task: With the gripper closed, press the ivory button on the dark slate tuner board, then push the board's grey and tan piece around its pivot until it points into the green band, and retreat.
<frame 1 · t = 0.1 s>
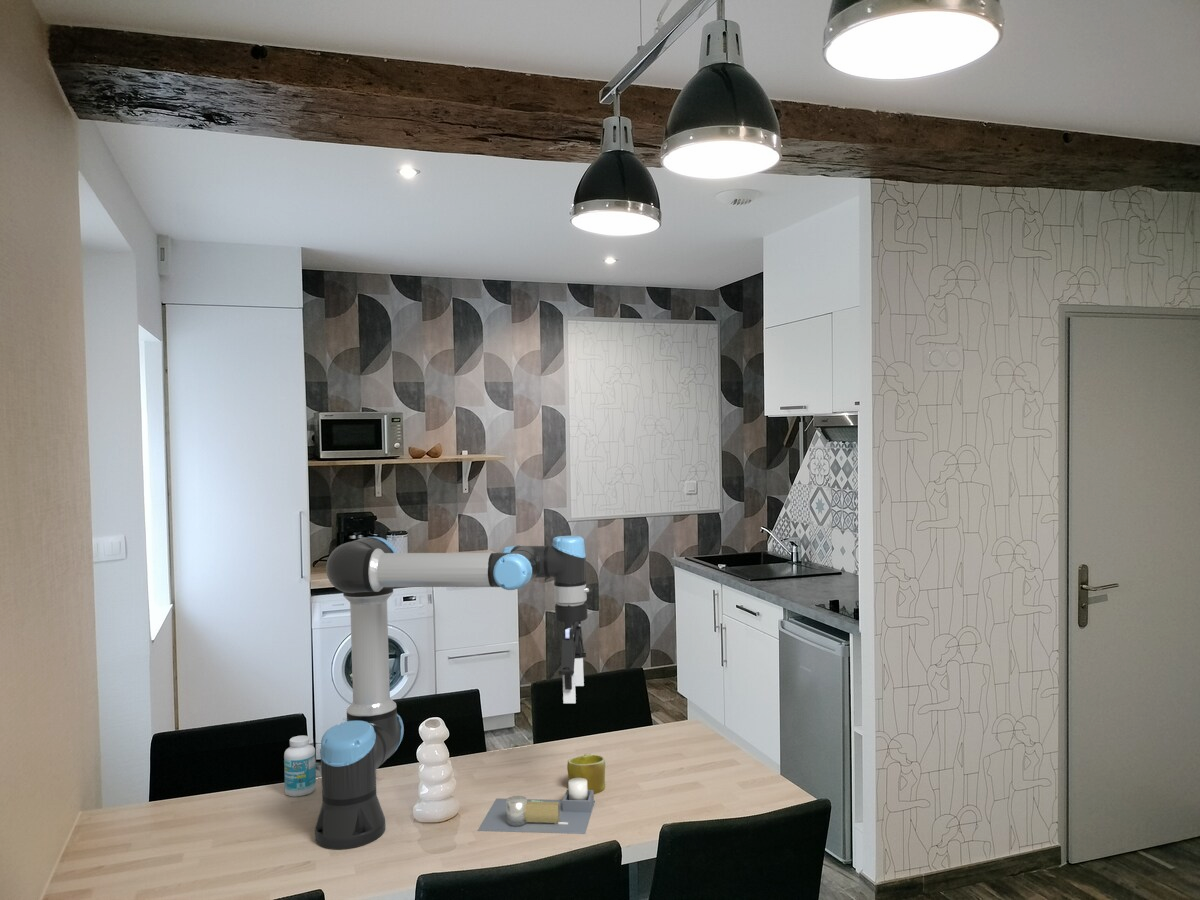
hand: (574, 694, 194), 28 cm above the table, fingers open, 13 cm apart
button: (578, 791, 195), point 5 cm above the table, slide at -0.7 cm
grey and tan piece: (532, 810, 186), point 4 cm above the table, hinge at 0.0°
pill bottle: (300, 792, 211), on the table
mug: (588, 790, 207), on the table
board: (538, 820, 190), on the table
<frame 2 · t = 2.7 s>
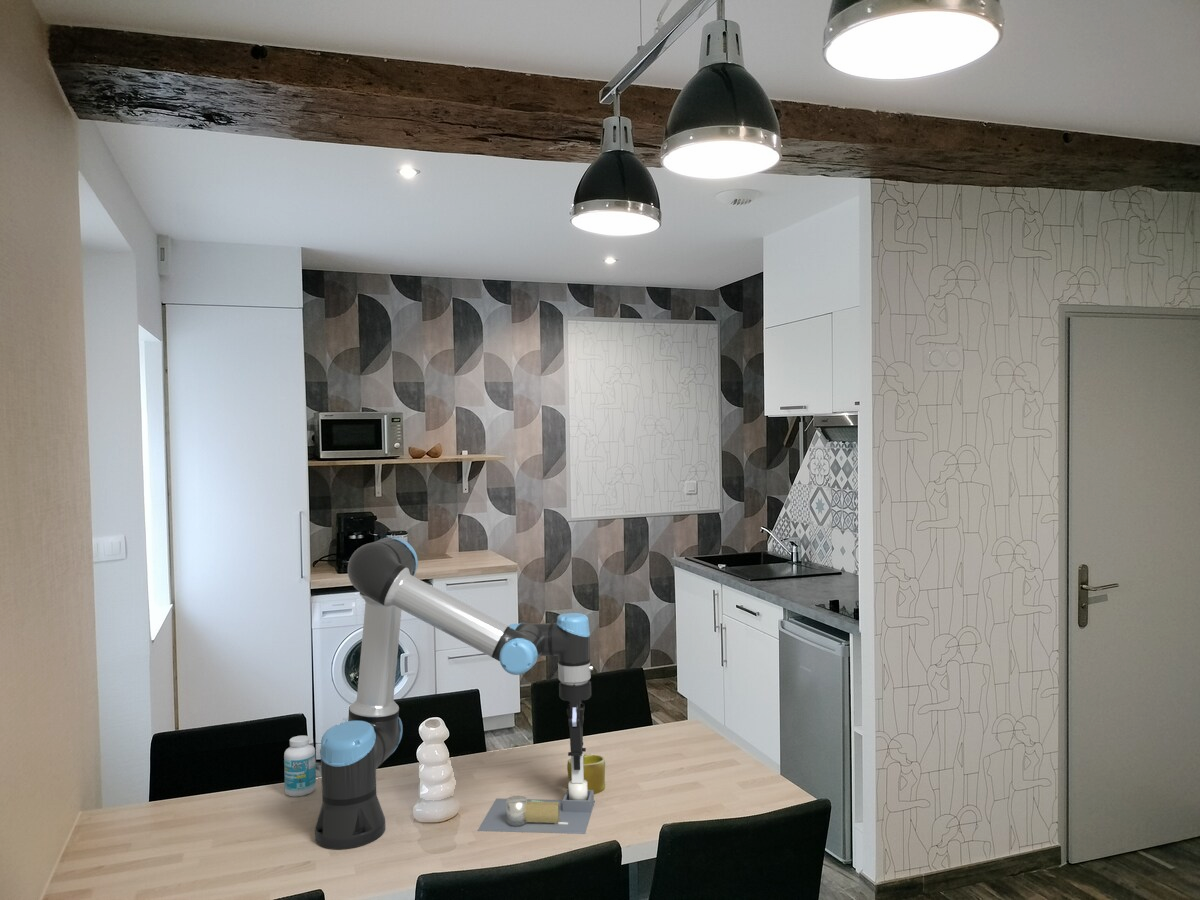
hand: (577, 781, 195), 7 cm above the table, fingers closed
button: (578, 792, 195), point 4 cm above the table, slide at -1.0 cm, touching gripper
everything else where it was.
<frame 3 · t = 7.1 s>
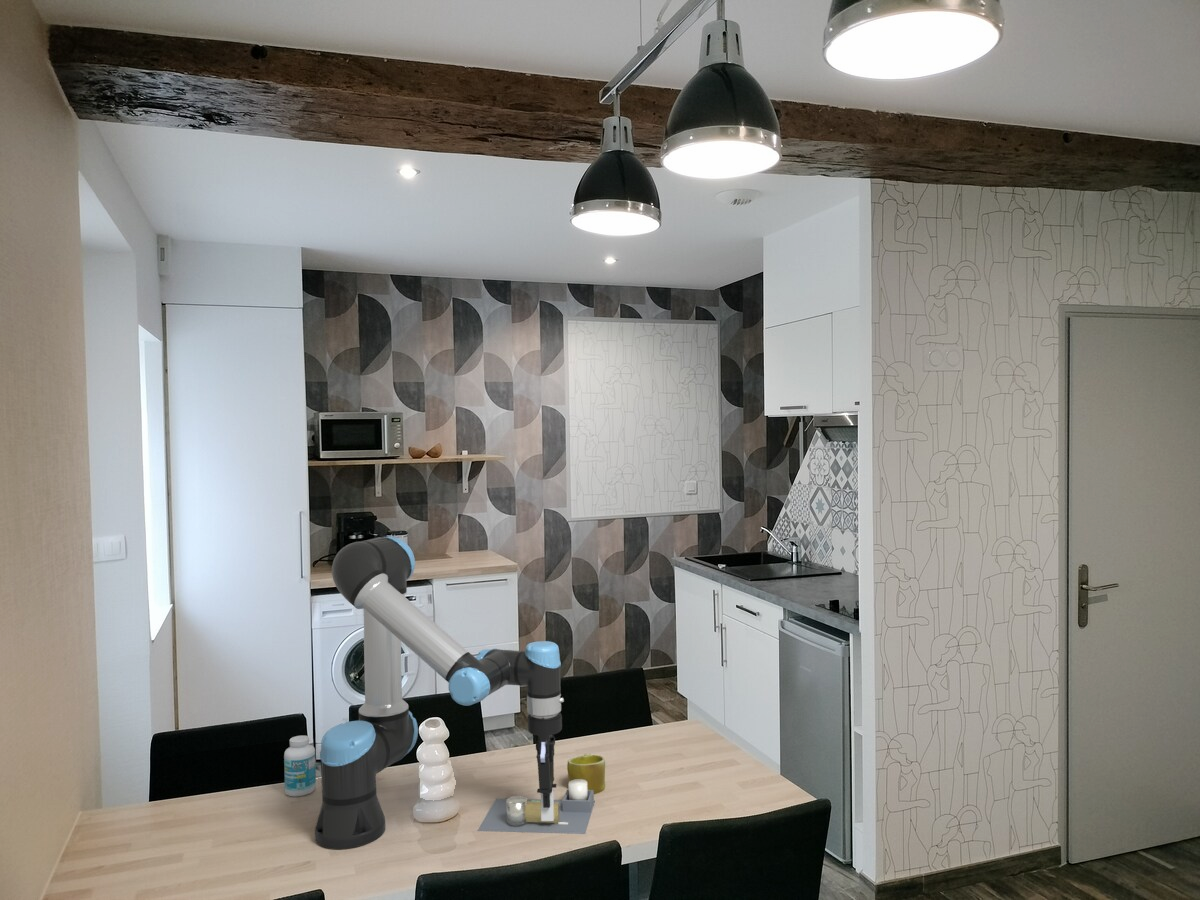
hand: (547, 819, 185), 3 cm above the table, fingers closed
button: (578, 792, 195), point 4 cm above the table, slide at -1.0 cm
grey and tan piece: (532, 810, 186), point 4 cm above the table, hinge at 0.0°, touching gripper
everything else where it was.
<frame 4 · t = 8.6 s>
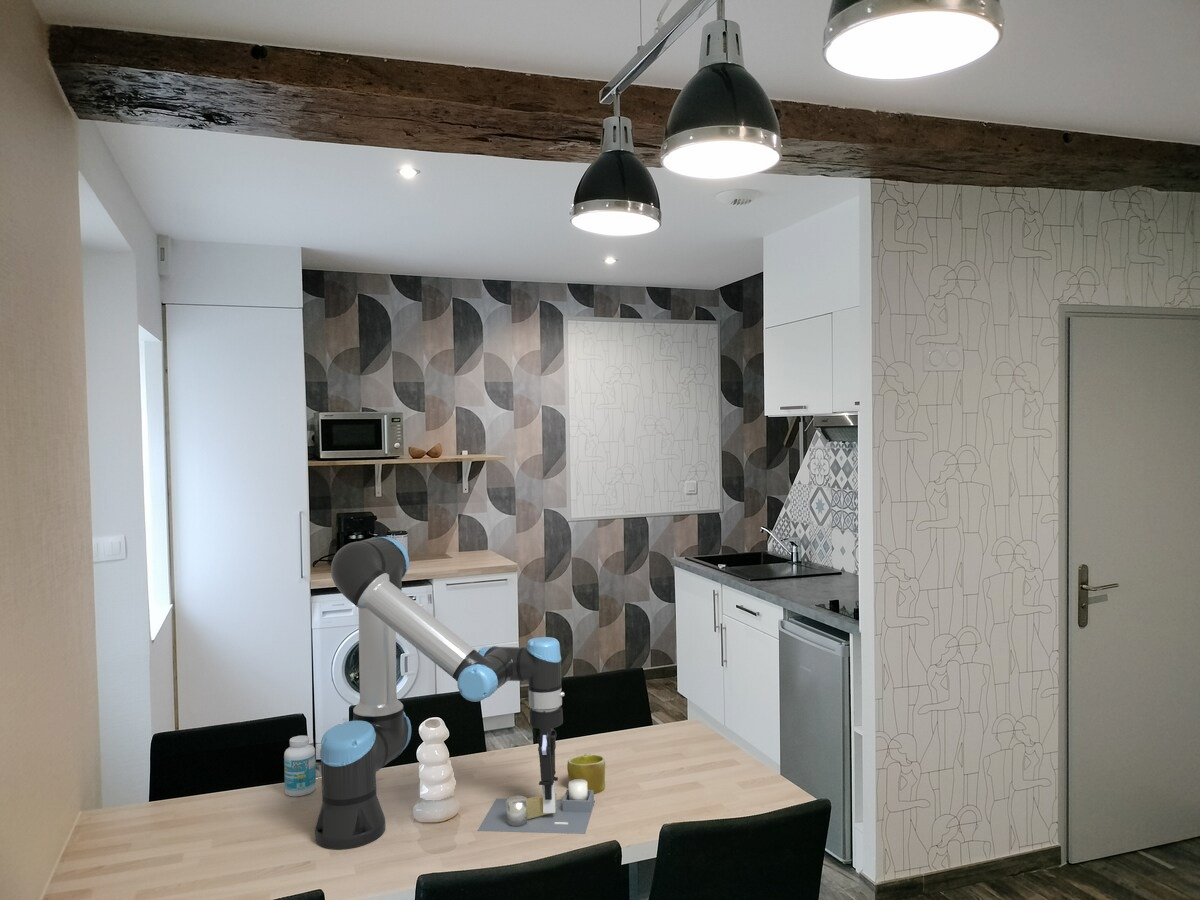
hand: (549, 811, 189), 3 cm above the table, fingers closed
grey and tan piece: (531, 806, 189), point 4 cm above the table, hinge at 35.8°, touching gripper
everything else where it was.
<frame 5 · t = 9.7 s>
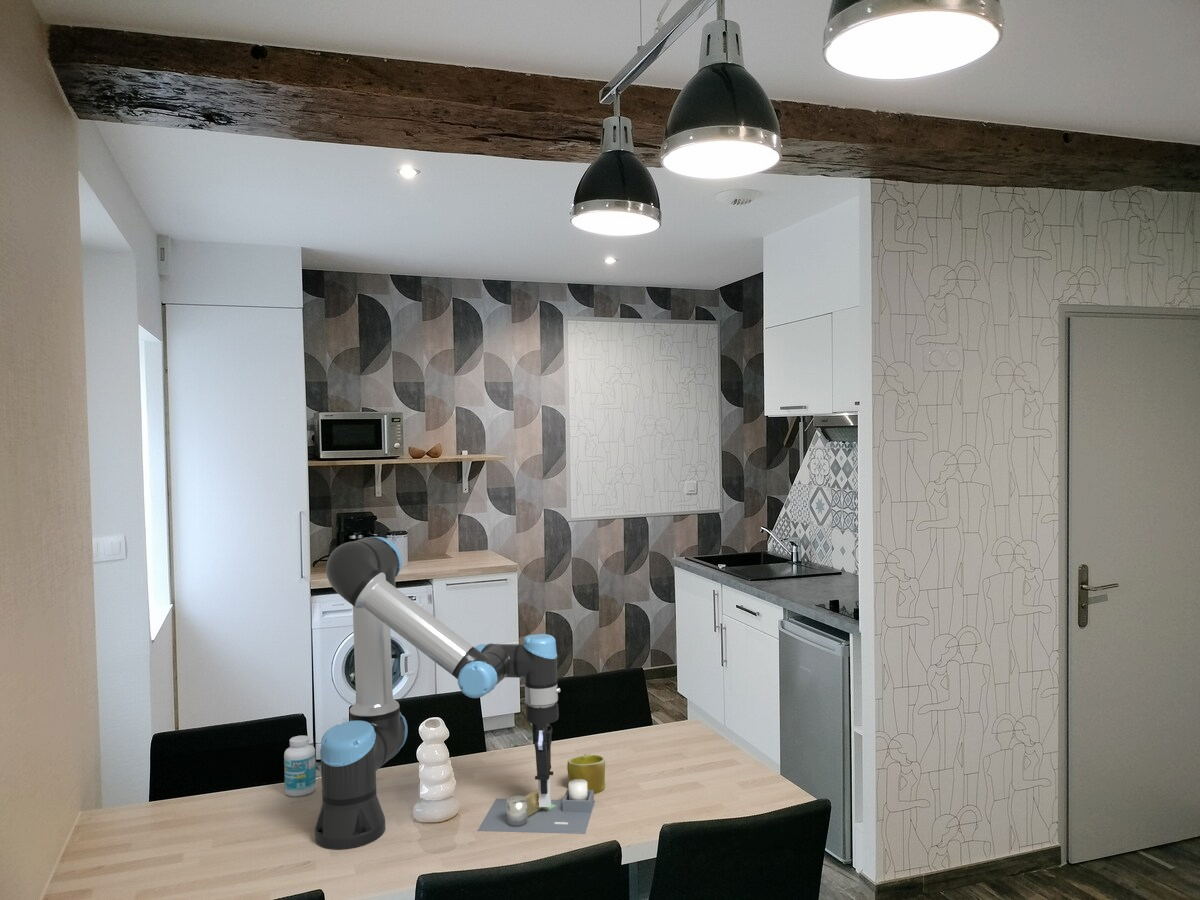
hand: (545, 805, 192), 3 cm above the table, fingers closed
grey and tan piece: (527, 804, 190), point 4 cm above the table, hinge at 61.4°, touching gripper
everything else where it was.
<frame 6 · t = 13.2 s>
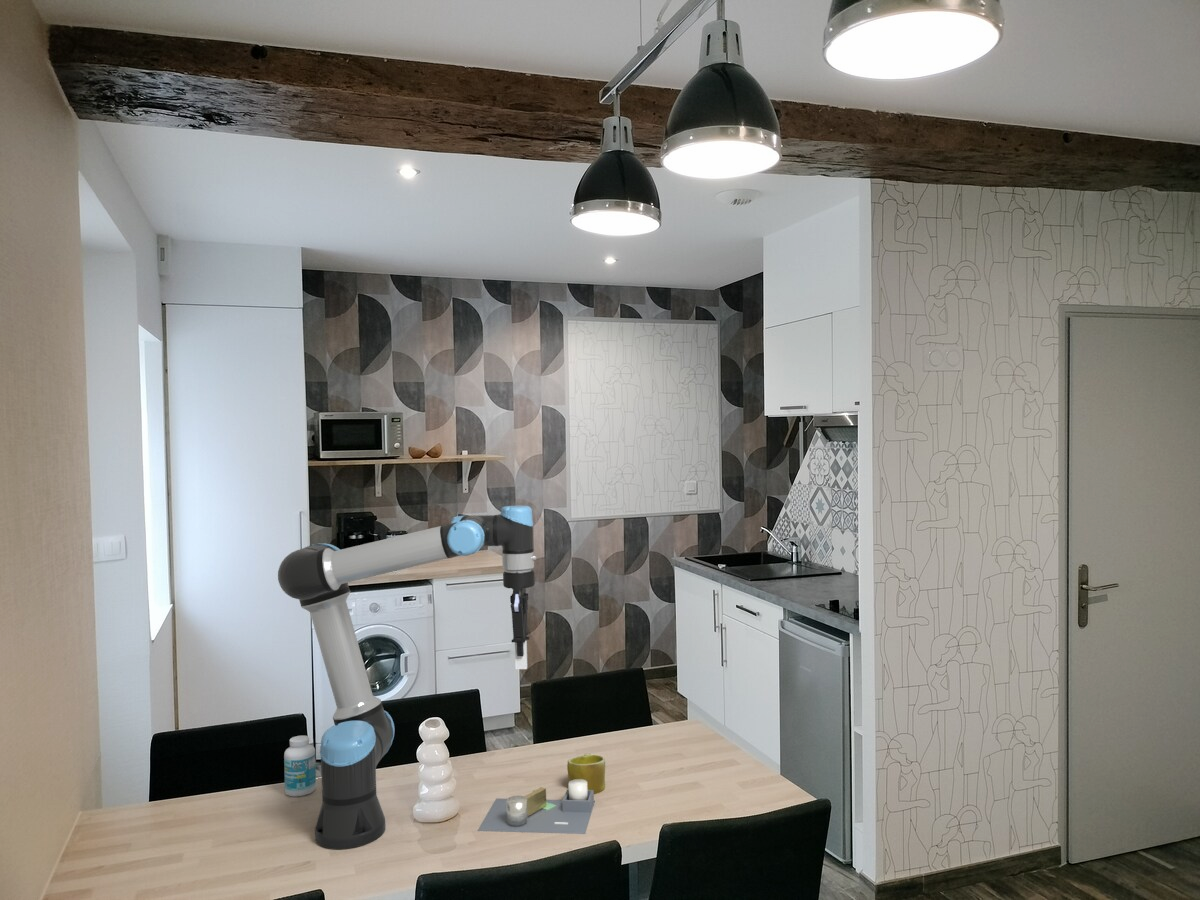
hand: (521, 668, 200), 32 cm above the table, fingers closed
grey and tan piece: (527, 804, 190), point 4 cm above the table, hinge at 61.7°
everything else where it was.
at the end: grey and tan piece at +62° (first picture: +0°) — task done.
